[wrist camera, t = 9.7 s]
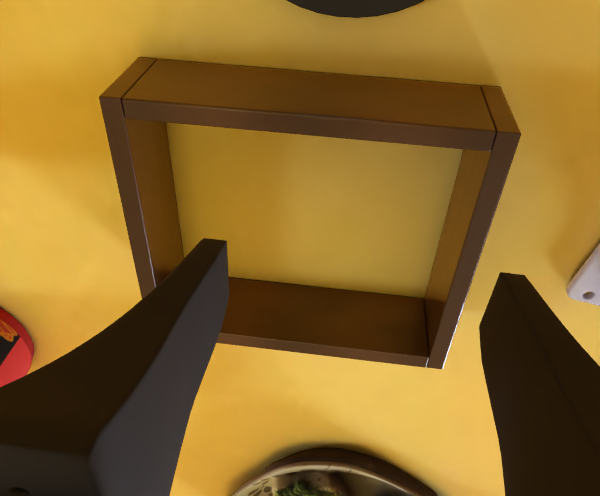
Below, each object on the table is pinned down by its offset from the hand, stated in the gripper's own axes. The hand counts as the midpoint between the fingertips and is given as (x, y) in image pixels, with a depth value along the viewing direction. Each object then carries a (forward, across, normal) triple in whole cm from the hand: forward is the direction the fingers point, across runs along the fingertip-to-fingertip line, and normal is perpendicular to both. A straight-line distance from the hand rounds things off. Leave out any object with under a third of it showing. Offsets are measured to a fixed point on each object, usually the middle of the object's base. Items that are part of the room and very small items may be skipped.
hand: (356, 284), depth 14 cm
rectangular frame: (+10, +2, +5) cm, 12 cm away
